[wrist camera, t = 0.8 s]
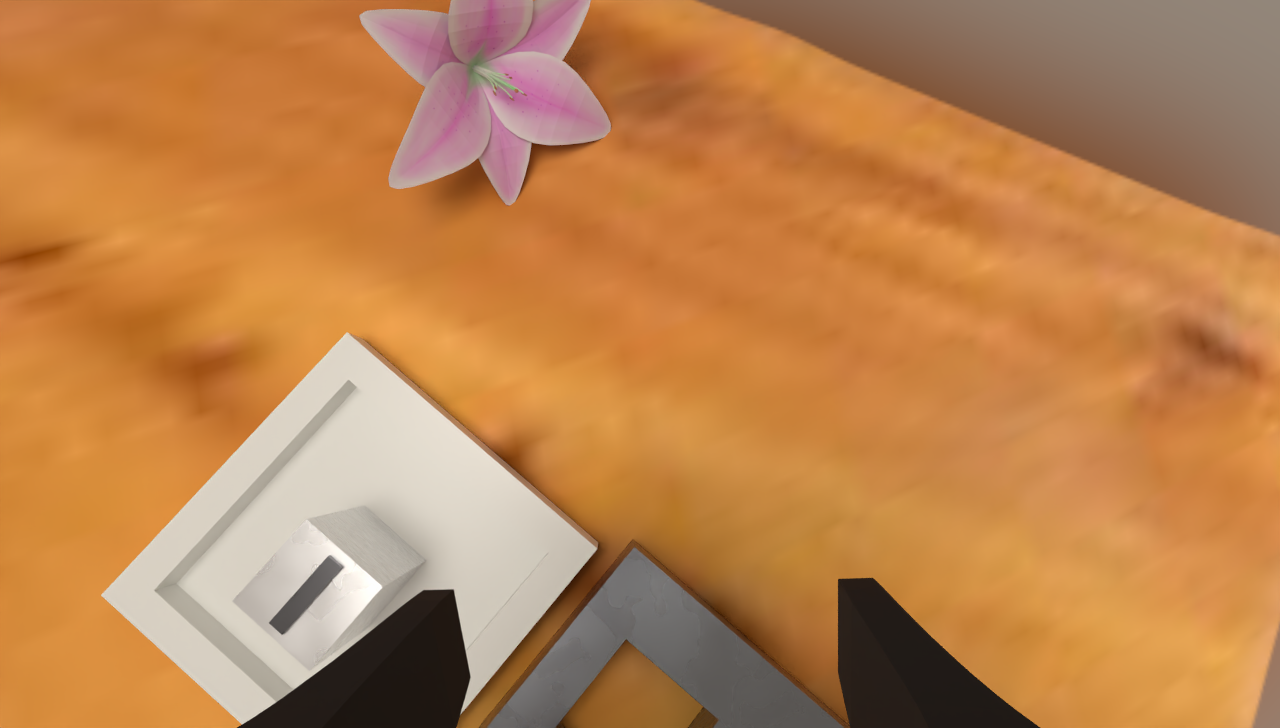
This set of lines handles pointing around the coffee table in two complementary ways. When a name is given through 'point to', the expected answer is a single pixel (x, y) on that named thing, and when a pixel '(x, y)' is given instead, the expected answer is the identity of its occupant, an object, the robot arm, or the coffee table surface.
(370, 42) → the coffee table surface
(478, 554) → the white square tray
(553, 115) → the lily
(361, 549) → the block
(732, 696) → the metal frame
